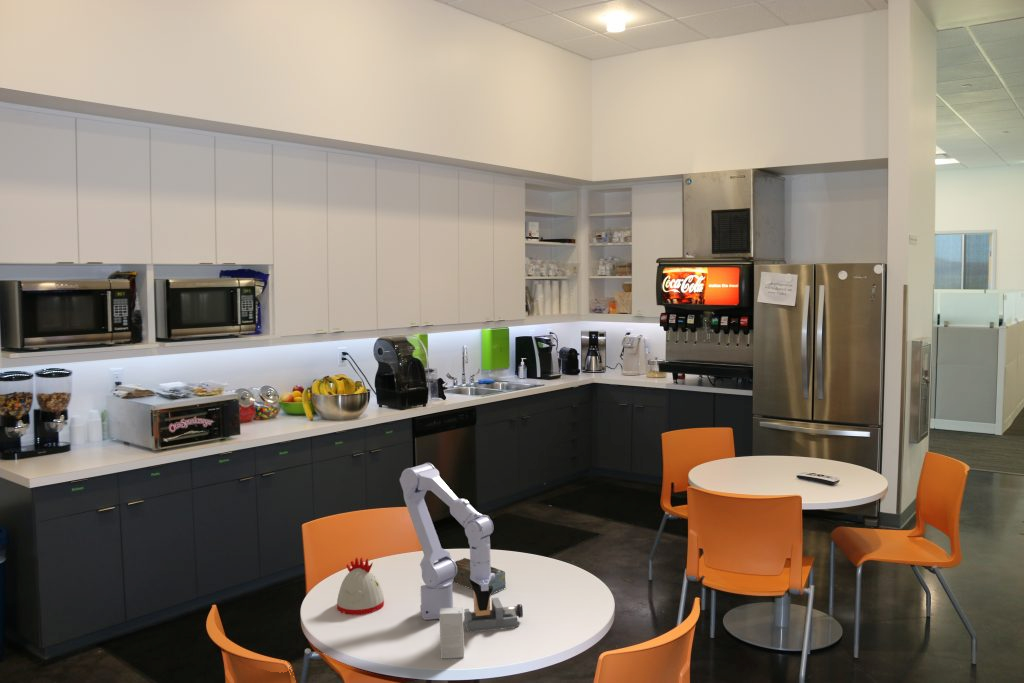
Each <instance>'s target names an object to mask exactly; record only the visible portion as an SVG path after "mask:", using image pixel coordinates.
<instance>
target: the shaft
mask: <svg viewBox="0 0 1024 683" xmlns="http://www.w3.org/2000/svg"><path fill="white" fill-rule="evenodd" d="M523 610H524V609H523V605H522V604H521V603H519V604H516V605H513V606H503V618H505V617H516V616H517V618H523V617H524V611H523Z"/></svg>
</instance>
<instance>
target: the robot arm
mask: <svg viewBox="0 0 1024 683" xmlns="http://www.w3.org/2000/svg"><path fill="white" fill-rule="evenodd" d="M399 483H400V486H401V489H402V491H403V500H404V502H405V505H406V508H407V511H408V513H409V517H410V520H411V521H412V522H411V523H412V525H413V528H414V530H415V534H416V537H417V539H418V541H419V545H420V547H421V550H422V552H423V557H422V559H421V562H420V564H419V566H420V570H421V579H422V581H423V582H424V584H422V585H420V607H419V608H420V612H421V616H422V620H424V621H428V620H437V619H439V613H440V608H454V600H453V599H454V598H453V596H454V595H453V583H454V582H453V581H454V577H455V576H456V574H457V565H456V563H455V562H456V561H455V560H454V559H453V558H452V556H451V553H450V551H447V550H446V549H444V548H442V546H441V543H440V540H439V536H438V534H437V530H436V529H435V526H434V523H433V521H432V517H431V515H430V512H429V510H428V506H427V503H426V501H425V496H426V493H427V491H431V492H432V493H433V494H434V495H435V496H437V497H438V498H439V499H440V500H441V501H442V502H443V503H444V504H446V505H447V506H448V507H449V513H450V514H451V516H452V517H453V518H455V520H456V521H457V522H458V523H459V524H460V525H461V526H462V527H463V528H464V534H465V536H466V538H467V540H468V541H467V542H468V545H469V559H470V571H471V575H470V579H469V581H470V583H471V585H472V588H473V589H472V591H473V590H474V592H475V594H476V598H477V603H478V608H479V611H483V610H487V607H488V601H489V597H491V595H492V594H491V592H492V590H493V586H492V585H491V586H488V584H489V582H490V580H491V578H494V577H495V574H494V573H491V567H492V566H491V538H490V536H491V534H493V532H494V529H495V528H494V523H493V520H492V519H491V518H490V516H489V515H488V514H487V515H486V514H482V513H480V512H478V511H477V510H476V509H475V508H474V507H473V506H472V504H470V501H468V499H466V498H459V497H458V496H457V495H456V494H455V493H454V492H453V490H452V489H450V487H449V486H448V485H447V484H446V482H445V481H444V480H443V479H442V478H441V476H440V471H439V470H438V469H437V468H436V467H435V466H434V465H433V464H432V463H431V462H425V463H423V464H420V465H417V466H413V467H407V468H405V469H404V470H403V471H402V472H401V475H400V477H399ZM474 592H473V593H474ZM490 594H491V595H490ZM439 620H440V619H439Z"/></svg>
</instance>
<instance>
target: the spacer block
mask: <svg viewBox="0 0 1024 683" xmlns="http://www.w3.org/2000/svg"><path fill="white" fill-rule="evenodd" d="M472 591H473V612H475V615H476V616H482V615H490V610H491V600H490V599H491V598H490V597H491V596H490V597H489V601H488V607H487V610H483V611H479V608H478V603H477V598H476V594H475V592H474V590H473V589H472Z"/></svg>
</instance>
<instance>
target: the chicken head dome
mask: <svg viewBox="0 0 1024 683" xmlns="http://www.w3.org/2000/svg"><path fill="white" fill-rule="evenodd" d="M365 559H366V560H365V562H364V560H363V557H361V558H360V559H359V558H358V557H355V561H353V560H351V561H350V565H351V566H350V565H349V564H348V563H347V564H346V568H347V570H348V573H347V574H346V576H344V578H343V580H342V582H341V585H340V588H339V591H338V594H337V595H338V596H337V599H336V600H337V601H336V605H337V606H336V609H337V611H338V612H339V613H341V614H344V615H349V616H362V615H368V614H372V613H375V612H377V611H379V610H381V609H383V607H384V605H385V598H384V592H383V590H382V589H383V588H382V587H381V585H380V582H379V580H378V578H377V577H376V576H375V575H374V573H373V572H372V571H371V569H372V567H373V563H374V562H373V561H372V562H371V563H370V564H369V558H365Z"/></svg>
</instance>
